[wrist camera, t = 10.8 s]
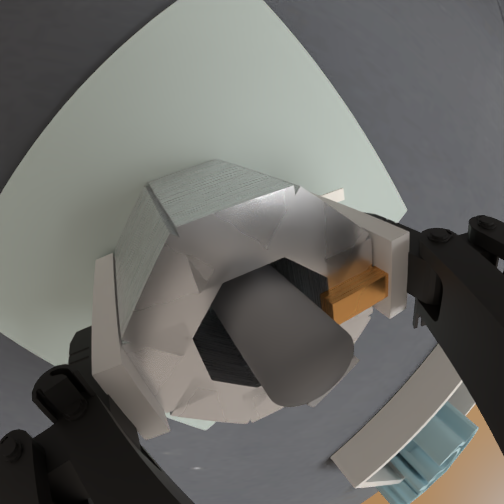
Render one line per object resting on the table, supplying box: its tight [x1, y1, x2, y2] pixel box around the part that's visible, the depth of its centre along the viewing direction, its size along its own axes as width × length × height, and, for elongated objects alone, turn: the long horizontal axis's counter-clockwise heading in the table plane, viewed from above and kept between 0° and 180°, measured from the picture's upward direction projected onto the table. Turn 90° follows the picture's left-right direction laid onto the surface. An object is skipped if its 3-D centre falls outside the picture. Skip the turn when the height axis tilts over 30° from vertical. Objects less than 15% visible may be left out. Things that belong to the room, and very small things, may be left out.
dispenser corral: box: [330, 343, 475, 488], centre depth 32 cm, size 18×26×5 cm
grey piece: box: [115, 159, 388, 424], centre depth 11 cm, size 7×7×7 cm
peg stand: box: [0, 0, 407, 430], centre depth 11 cm, size 16×18×10 cm
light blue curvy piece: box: [375, 401, 478, 504], centre depth 34 cm, size 18×10×9 cm, turn 6°
